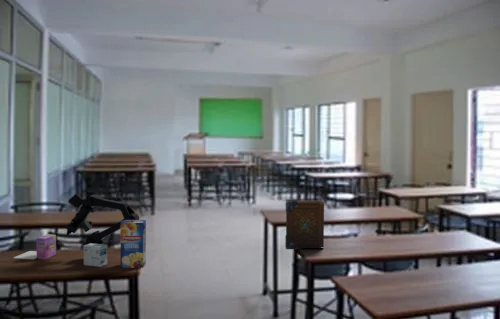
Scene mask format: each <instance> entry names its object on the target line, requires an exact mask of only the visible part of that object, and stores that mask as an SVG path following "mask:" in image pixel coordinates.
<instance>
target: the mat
mask: <svg viewBox="0 0 500 319" xmlns="http://www.w3.org/2000/svg"><path fill="white" fill-rule="evenodd" d="M12 259H17V260H36V259H37V250H29V251H26V252H24V253H21V254H19V255H16V256H14V257H13V258H12Z"/></svg>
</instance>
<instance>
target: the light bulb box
mask: <svg viewBox="0 0 500 319" xmlns="http://www.w3.org/2000/svg"><path fill="white" fill-rule="evenodd" d="M82 247H83V265H84V266H88V267H89V266H90V267H99V268H101V267H103V266H105V265H108V244H104V245H103V244H92V243H90V244H85V245H83V246H82Z"/></svg>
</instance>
